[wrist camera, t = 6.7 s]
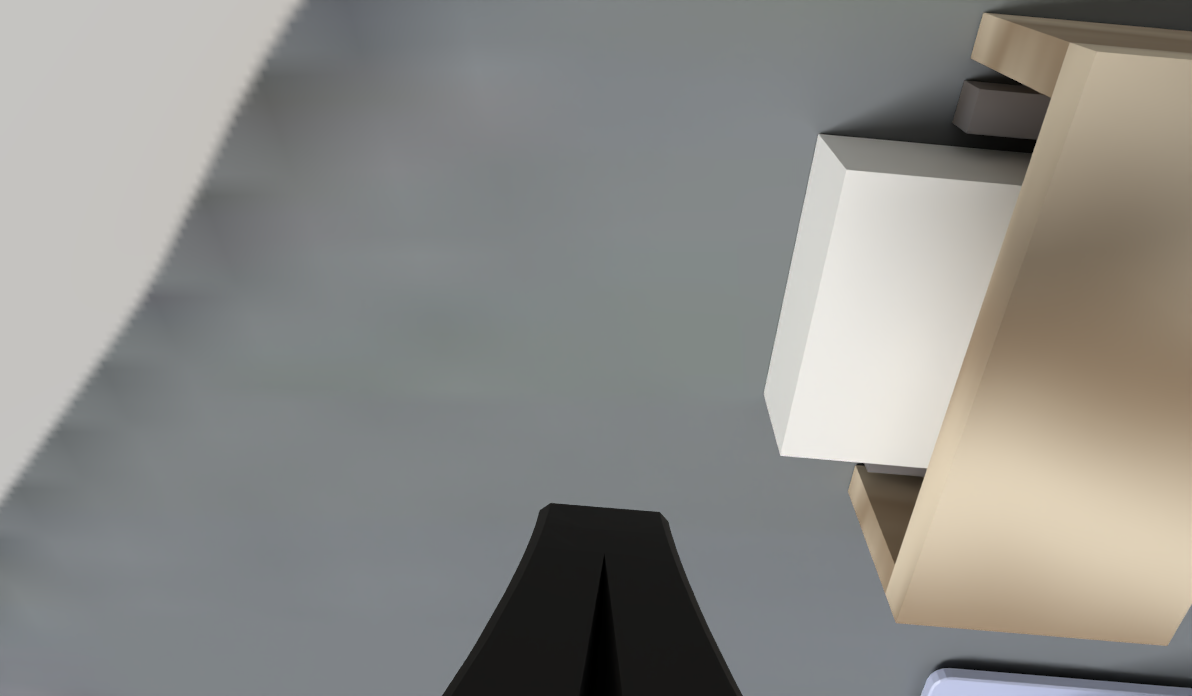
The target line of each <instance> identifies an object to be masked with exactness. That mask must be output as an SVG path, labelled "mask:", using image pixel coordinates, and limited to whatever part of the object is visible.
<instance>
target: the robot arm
mask: <svg viewBox="0 0 1192 696" xmlns="http://www.w3.org/2000/svg"><path fill="white" fill-rule="evenodd" d="M442 696H743V695H742V694H741V692H740V690H739V688H738V686H737V684H736V682H735V680H734V678H733V676H732V674H731V672H730V670H729V668H728V666H727V664H726V662H725V660H724V658H723V656H722V654H721V652H720V650H719V648H718V646H717V644H716V642H715V640H714V638H713V636H712V634H711V632H710V630H709V627H708V625H707V623H706V621H705V619H704V616H703V614H702V612H701V610H700V607H699V605H698V603H697V600H696V598H695V596H694V593H693V591H692V588H691V586H690V584H689V581H688V579H687V576H686V574H685V571H684V569H683V566H682V563H681V561H680V558H679V555H678V552H677V549H676V546H675V543H674V540H673V537H672V534H671V531H670V527H669V523H668V521H667V520H666V519H665V517H664V516H663V515H662V514H661V513H660V512H652V511H639V510H627V509H615V508H603V507H591V506H579V505H567V504H555V503H550V504H549V505H547V506H546V507H544V508H543V509H541V510H540V512H539V515H538V519H537V522H536V525H535V528H534V531H533V533H532V536H531V539H530V541H529V544H528V546H527V548H526V551H525V553H524V555H523V557H522V559H521V562H520V564H519V566H518V568H517V570H516V572H515V574H514V576H513V578H512V580H511V582H510V584H509V586H508V588H507V590H506V592H505V593H504V595H503V597H502V599H501V600H500V602H499V604H498V606H497V608H496V609H495V611H494V613H493V615H492V616H491V618H490V620H489V622H488V623H487V625H486V627H485V629H484V630H483V632H482V634H481V636H480V637H479V639H478V641H477V643H476V644H475V646H474V647H473V649H472V651H471V652H470V654H469V656H468V657H467V659H466V660H465V662H464V663H463V665H462V666H461V668H460V669H459V671H458V672H457V674H456V676H455V677H454V679H453V680H452V682H451V683H450V685H449V686H448V688H447V689H446V691H445V692H444V694H443V695H442ZM921 696H1192V688H1183V687H1171V686H1159V685H1147V684H1135V683H1123V682H1111V681H1099V680H1087V679H1075V678H1063V677H1051V676H1039V675H1027V674H1015V673H1003V672H991V671H979V670H967V669H955V668H942V669H939V670H936V671H935V672H933V673H932V674H931V675H930V676H929V677H928V679H927V681H926V684H925V686H924V689H923V691H922V694H921Z"/></svg>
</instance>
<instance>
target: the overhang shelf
mask: <svg viewBox="0 0 1192 696" xmlns="http://www.w3.org/2000/svg"><path fill="white" fill-rule="evenodd" d="M971 59H973V60H975V61H977V62H979V63H981V64H983V65H985V66H987V67H989V68H991V69H993V70H995V71H997V72H999V73H1001V74H1003V75H1005V76H1007V77H1009V78H1012V79H1014V80H1016V81H1018V82H1020V83H1022V84H1024V85H1026V86H1022V85H1010V84H999V83H988V82H977V81H966V80H964V83H963V87H962V90H961V94H960V97H959V101H958V104H957V108H956V112H955V115H954V119H953V122H952V123H953V124H954V125H956V126H957V127H959V128H960V129H961V130H963V131H964V132H966V133H967V134H979V135H990V136H1001V137H1013V138H1024V139H1035V140H1037V142H1036V145H1035V148H1034V151H1033V154H1032V157H1031V160H1030V163H1029V166H1028V169H1027V172H1026V175H1025V178H1024V181H1023V184H1022V187H1021V190H1020V193H1019V196H1018V199H1017V202H1016V205H1015V208H1014V211H1013V214H1012V217H1011V220H1010V223H1009V226H1008V229H1007V232H1006V235H1005V238H1004V241H1003V244H1002V247H1001V250H1000V253H999V256H998V259H997V262H996V265H995V268H994V271H993V273H992V276H991V279H990V282H989V285H988V288H987V291H986V294H985V297H984V300H983V303H982V306H981V309H980V312H979V315H978V318H977V321H976V324H975V327H974V330H973V333H972V336H971V339H970V342H969V345H968V348H967V351H966V354H965V357H964V360H963V363H962V366H961V369H960V372H959V375H958V378H957V381H956V384H955V387H954V390H953V393H952V396H951V399H950V402H949V405H948V408H947V411H946V414H945V417H944V420H943V423H942V426H941V429H940V432H939V435H938V438H937V441H936V444H935V447H934V450H933V453H932V456H931V459H930V462H929V465H928V468H917V467H905V466H894V465H883V464H871V463H864V464H865V466H861V465H855V469H854V472H853V476H852V479H851V483H850V486H849V490H848V493H849V495H850V498H851V501H852V504H853V506H854V509H855V512H856V515H857V517H858V520H859V523H860V526H861V528H862V531H863V534H864V537H865V539H866V542H867V545H868V548H869V550H870V553H871V556H872V558H873V561H874V564H875V567H876V569H877V572H878V575H879V578H880V580H881V583H882V586H883V589H884V591H885V594H886V597H887V600H888V602H889V605H890V608H891V611H892V613H893V616H894V619H895V622H896V623H902V624H914V625H925V626H937V627H949V628H961V629H973V630H985V631H997V632H1009V633H1021V634H1033V635H1044V636H1056V637H1068V638H1080V639H1092V640H1104V641H1116V642H1128V643H1140V644H1152V645H1163V646H1168V644H1169V642H1170V640H1171V639H1172V637H1173V635H1174V633H1175V632H1176V630H1177V628H1178V627H1179V625H1180V623H1181V621H1182V620H1183V618H1184V616H1185V615H1186V613H1187V611H1188V609H1189V608H1190V606H1191V604H1192V31H1183V30H1172V29H1161V28H1150V27H1139V26H1127V25H1116V24H1105V23H1094V22H1083V21H1072V20H1061V19H1049V18H1038V17H1027V16H1016V15H1005V14H994V13H983V16H982V20H981V23H980V27H979V30H978V34H977V37H976V41H975V44H974V48H973V51H972V55H971Z"/></svg>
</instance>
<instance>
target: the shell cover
mask: <svg viewBox="0 0 1192 696" xmlns="http://www.w3.org/2000/svg"><path fill="white" fill-rule="evenodd" d="M1032 154H1033V153H1022V152H1011V151H1000V150H989V149H978V148H967V147H956V146H945V145H935V144H924V143H913V142H902V141H891V140H880V139H869V138H858V137H847V136H836V135H825V134H818V139H817V143H816V148H815V153H814V158H813V162H812V167H811V172H810V177H809V181H808V186H807V191H806V196H805V200H804V205H803V210H802V215H801V219H800V224H799V229H798V234H797V238H796V243H795V248H794V253H793V257H792V262H791V267H790V272H789V276H788V281H787V286H786V291H785V295H784V300H783V305H782V310H781V314H780V319H779V324H778V329H777V333H776V338H775V343H774V348H773V352H772V357H771V362H770V367H769V371H768V376H767V381H766V386H765V390H764V396H765V400H766V404H767V408H768V411H769V415H770V419H771V423H772V426H773V430H774V434H775V437H776V441H777V445H778V449H779V452H780V456H791V457H803V458H814V459H826V460H837V461H848V462H860V463H871V464H883V465H894V466H905V467H917V468H928V465H929V462H930V459H931V456H932V453H933V450H934V447H935V444H936V441H937V438H938V435H939V432H940V429H941V426H942V423H943V420H944V417H945V414H946V411H947V408H948V405H949V402H950V399H951V396H952V393H953V390H954V387H955V384H956V381H957V378H958V375H959V372H960V369H961V366H962V363H963V360H964V357H965V354H966V351H967V348H968V345H969V342H970V339H971V336H972V333H973V330H974V327H975V324H976V321H977V318H978V315H979V312H980V309H981V306H982V303H983V300H984V297H985V294H986V291H987V288H988V285H989V282H990V279H991V276H992V273H993V271H994V268H995V265H996V262H997V259H998V256H999V253H1000V250H1001V247H1002V244H1003V241H1004V238H1005V235H1006V232H1007V229H1008V226H1009V223H1010V220H1011V217H1012V214H1013V211H1014V208H1015V205H1016V202H1017V199H1018V196H1019V193H1020V190H1021V187H1022V184H1023V181H1024V178H1025V175H1026V172H1027V169H1028V166H1029V163H1030V160H1031V157H1032Z"/></svg>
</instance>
